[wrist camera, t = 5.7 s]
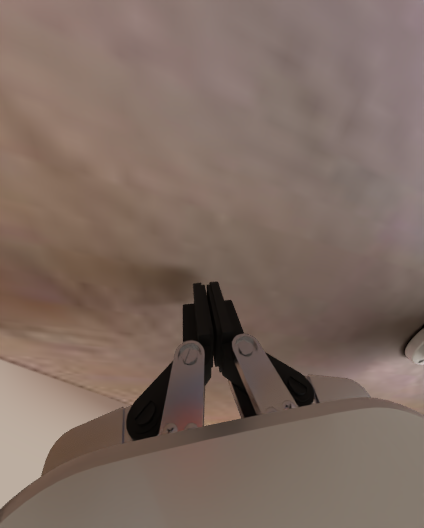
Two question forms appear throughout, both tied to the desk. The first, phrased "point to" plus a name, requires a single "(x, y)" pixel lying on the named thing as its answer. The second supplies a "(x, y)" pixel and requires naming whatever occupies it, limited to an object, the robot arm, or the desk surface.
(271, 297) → the desk surface
